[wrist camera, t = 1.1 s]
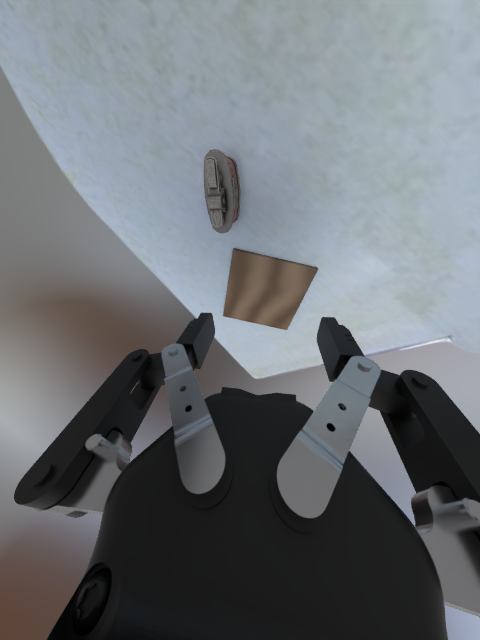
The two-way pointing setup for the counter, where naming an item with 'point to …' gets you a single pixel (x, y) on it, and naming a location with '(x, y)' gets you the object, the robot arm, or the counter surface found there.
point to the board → (265, 289)
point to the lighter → (221, 190)
